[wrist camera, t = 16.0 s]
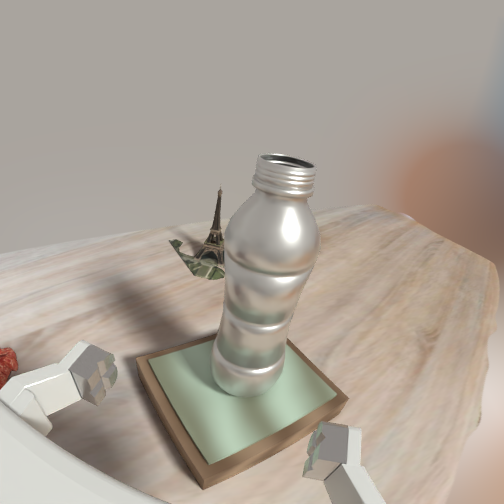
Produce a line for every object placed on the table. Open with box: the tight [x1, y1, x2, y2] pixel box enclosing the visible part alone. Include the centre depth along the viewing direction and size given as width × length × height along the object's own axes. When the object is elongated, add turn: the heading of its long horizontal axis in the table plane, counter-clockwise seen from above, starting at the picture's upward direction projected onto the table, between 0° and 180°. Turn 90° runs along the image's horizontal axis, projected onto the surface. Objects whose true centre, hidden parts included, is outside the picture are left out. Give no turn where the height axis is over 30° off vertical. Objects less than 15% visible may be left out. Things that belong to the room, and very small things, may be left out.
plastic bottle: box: [209, 153, 321, 397], centre depth 23 cm, size 6×7×20 cm
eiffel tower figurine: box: [169, 189, 225, 280], centre depth 51 cm, size 15×10×13 cm
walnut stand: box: [136, 334, 349, 490], centre depth 29 cm, size 16×14×3 cm
